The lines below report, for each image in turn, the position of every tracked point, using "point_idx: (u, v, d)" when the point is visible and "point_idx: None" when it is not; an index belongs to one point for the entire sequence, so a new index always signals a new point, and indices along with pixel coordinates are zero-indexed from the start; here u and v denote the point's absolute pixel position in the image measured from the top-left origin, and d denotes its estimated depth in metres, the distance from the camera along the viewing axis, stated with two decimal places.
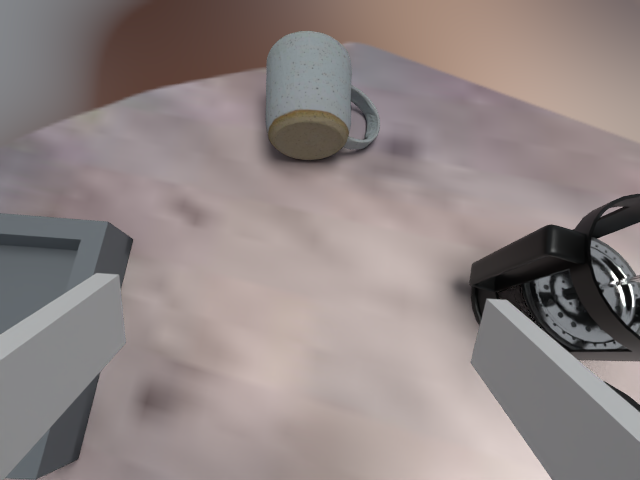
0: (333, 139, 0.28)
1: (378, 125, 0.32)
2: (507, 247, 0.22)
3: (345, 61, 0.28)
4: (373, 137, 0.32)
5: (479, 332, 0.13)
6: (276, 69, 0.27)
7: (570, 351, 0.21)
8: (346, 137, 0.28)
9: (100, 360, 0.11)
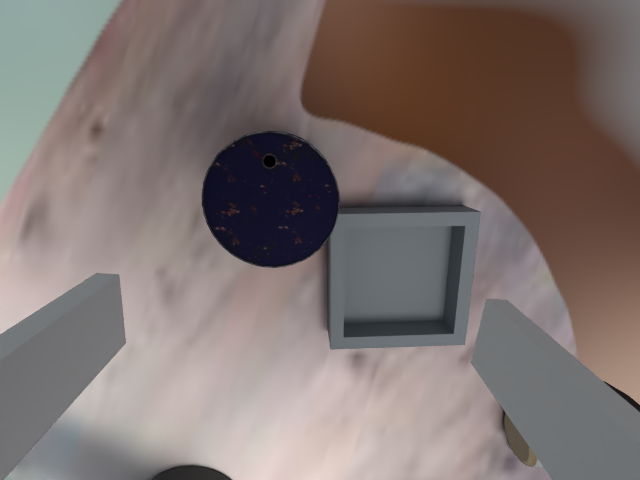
0: (517, 452, 0.45)
1: None
2: None
3: None
4: None
5: (479, 332, 0.13)
6: None
7: None
8: (518, 458, 0.45)
9: (100, 360, 0.11)
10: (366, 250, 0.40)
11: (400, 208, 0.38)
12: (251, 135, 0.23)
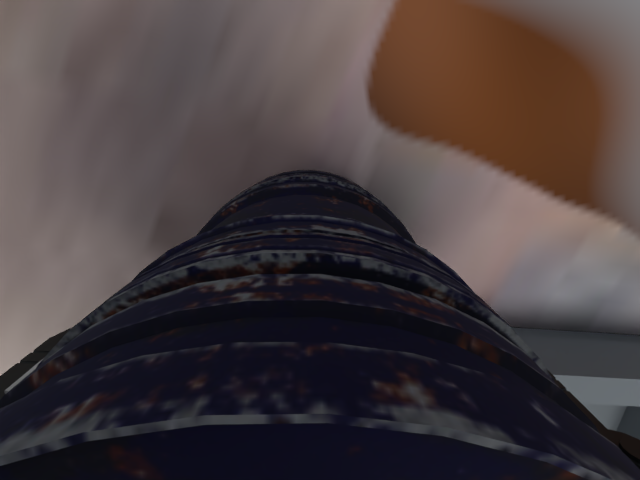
0: None
1: None
2: None
3: None
4: None
5: None
6: None
7: None
8: None
9: None
10: None
11: (548, 341, 0.18)
12: (147, 427, 0.02)
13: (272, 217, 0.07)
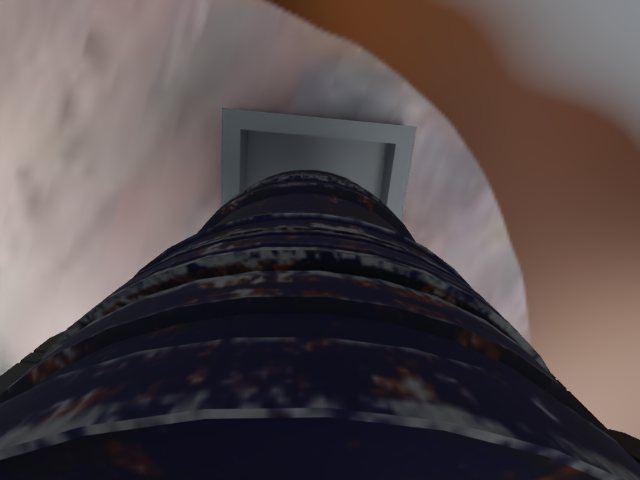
0: None
1: None
2: None
3: None
4: None
5: None
6: None
7: None
8: None
9: None
10: (278, 171, 0.32)
11: None
12: (147, 421, 0.02)
13: (272, 215, 0.06)
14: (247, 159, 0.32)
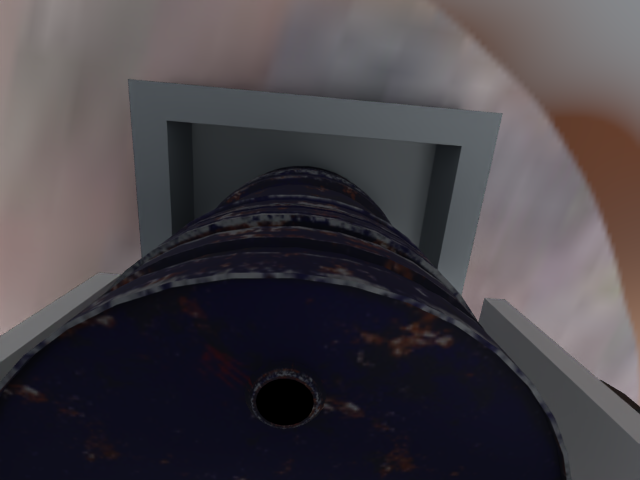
0: None
1: None
2: None
3: None
4: None
5: None
6: None
7: None
8: None
9: None
10: None
11: None
12: (201, 283, 0.04)
13: (269, 196, 0.09)
14: (194, 174, 0.18)
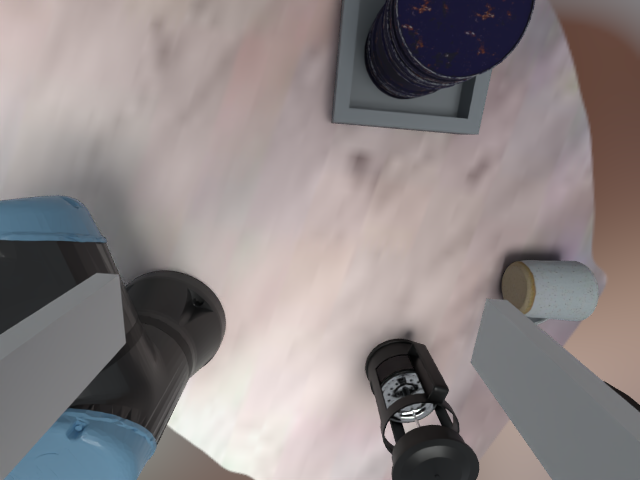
0: (512, 304, 0.44)
1: None
2: (436, 367, 0.41)
3: (569, 319, 0.42)
4: None
5: (479, 332, 0.13)
6: (571, 278, 0.40)
7: (379, 384, 0.44)
8: None
9: (100, 360, 0.11)
10: None
11: None
12: None
13: None
14: None
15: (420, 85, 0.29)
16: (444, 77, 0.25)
